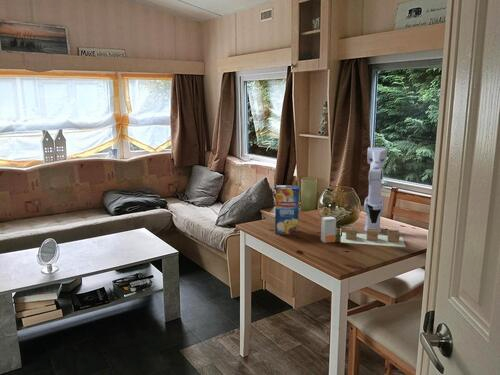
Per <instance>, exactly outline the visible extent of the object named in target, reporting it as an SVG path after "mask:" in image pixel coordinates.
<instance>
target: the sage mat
mask: <svg viewBox="0 0 500 375" xmlns="http://www.w3.org/2000/svg"><path fill="white" fill-rule="evenodd" d="M387 237H388V234H387V235H383V234H378V240H377V241H367V233H357V236H356V240H352V239H346V232H342V236H341V235H340V243H345V244H357V245H358V244H359V245H373V246H385V247H398V248H399V247H401V248H406V243H405V241H404V238H403V236H402V235H401V236H399V243H394V242H388V239H387Z"/></svg>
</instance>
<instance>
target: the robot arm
mask: <svg viewBox="0 0 500 375" xmlns="http://www.w3.org/2000/svg"><path fill="white" fill-rule="evenodd" d="M366 154H367V155H366V156H367V159H366V160H367V161H366V162H367V164H368V165H370V166H369V167H370V168H369V171H368V196H367V197H365V199H364V204H363V206H364V207H363V212H364V213H365V215H366V216H365V217H366V218H365V225H364V232H367V228H377V229H378V233H382V230H381V215H383V213H384V210H385V208H384V206H385V203H384V202H385V201H384V198H383V197H382V196H381V195H382V182H383V180H384V169H383V166H384V165H385V164H386V162H387V157H388V155H387V154H388V149H387V147H373V146H372V147H370V146H368V148H367V153H366Z"/></svg>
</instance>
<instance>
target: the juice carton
mask: <svg viewBox="0 0 500 375" xmlns="http://www.w3.org/2000/svg"><path fill="white" fill-rule="evenodd" d="M274 201H275V206H274V207H275V209H274V210H275V213H274V214H275V215H274V216H275V217H274V218H275V220H274V226H275V227H274V234H277V235H298V234H299V211H300V210H299V206H300V203H299V202H300V185H278V184H277V185H275V200H274Z"/></svg>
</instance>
